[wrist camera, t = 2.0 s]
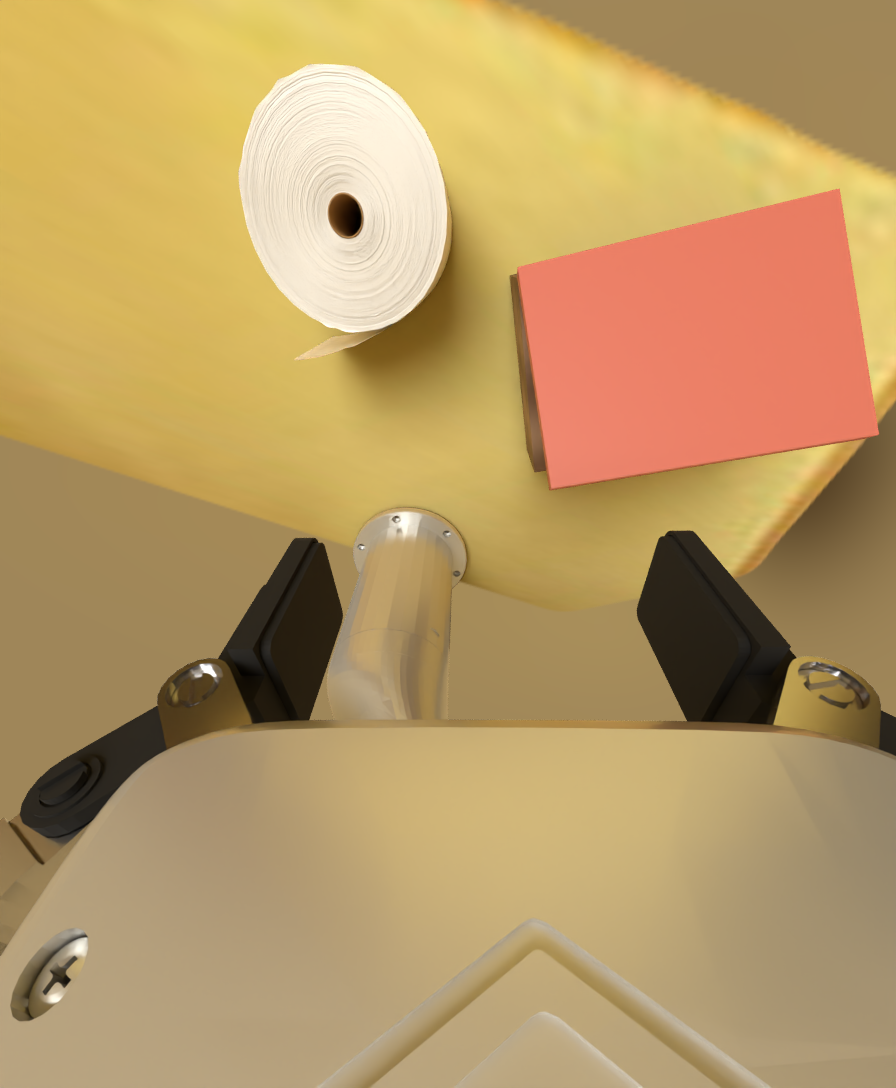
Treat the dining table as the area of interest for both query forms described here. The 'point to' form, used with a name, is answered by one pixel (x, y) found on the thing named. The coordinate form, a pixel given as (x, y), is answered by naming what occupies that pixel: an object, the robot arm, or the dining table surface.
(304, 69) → the toilet tissue
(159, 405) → the dining table surface
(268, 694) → the robot arm
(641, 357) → the lid
